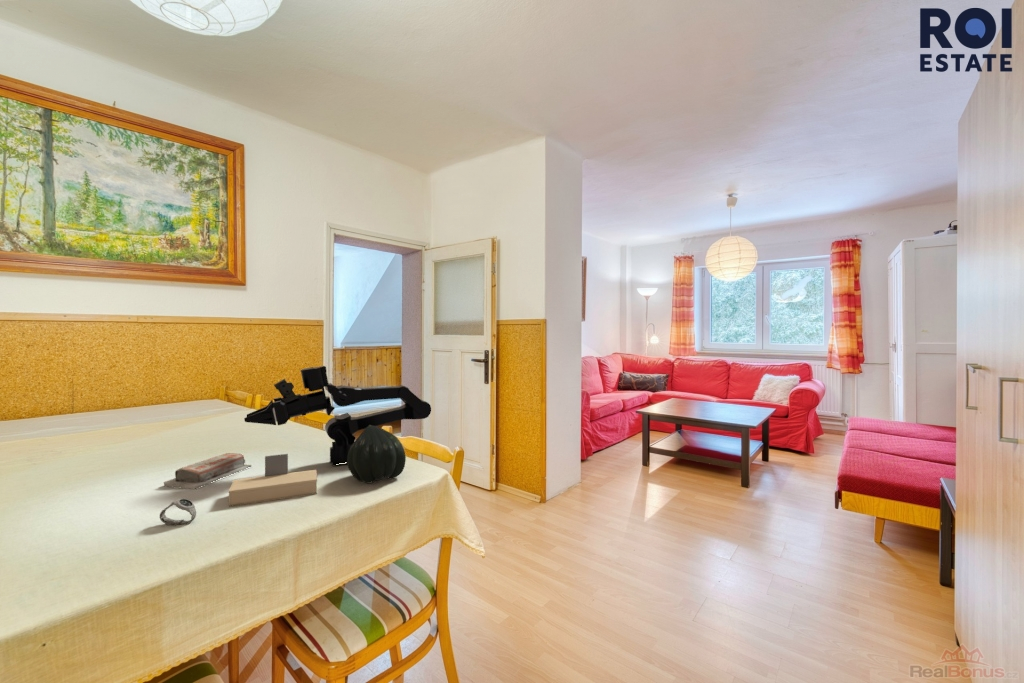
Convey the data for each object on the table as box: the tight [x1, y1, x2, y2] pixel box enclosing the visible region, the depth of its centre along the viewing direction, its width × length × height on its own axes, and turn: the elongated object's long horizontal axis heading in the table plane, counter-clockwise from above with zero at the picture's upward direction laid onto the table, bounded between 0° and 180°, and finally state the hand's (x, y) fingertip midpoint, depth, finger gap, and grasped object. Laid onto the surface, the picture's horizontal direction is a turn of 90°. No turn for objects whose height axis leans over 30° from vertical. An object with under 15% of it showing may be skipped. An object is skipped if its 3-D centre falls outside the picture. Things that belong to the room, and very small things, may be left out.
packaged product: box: [163, 452, 252, 490], centre depth 115 cm, size 18×5×10 cm
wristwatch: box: [159, 498, 197, 527], centre depth 87 cm, size 4×6×5 cm, turn 102°
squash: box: [346, 425, 407, 484], centre depth 115 cm, size 14×15×15 cm
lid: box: [228, 453, 318, 494], centre depth 103 cm, size 18×8×6 cm, turn 116°
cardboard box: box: [228, 480, 318, 507], centre depth 103 cm, size 18×8×3 cm, turn 116°
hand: (245, 418), depth 116 cm, fingers open, 9 cm apart
